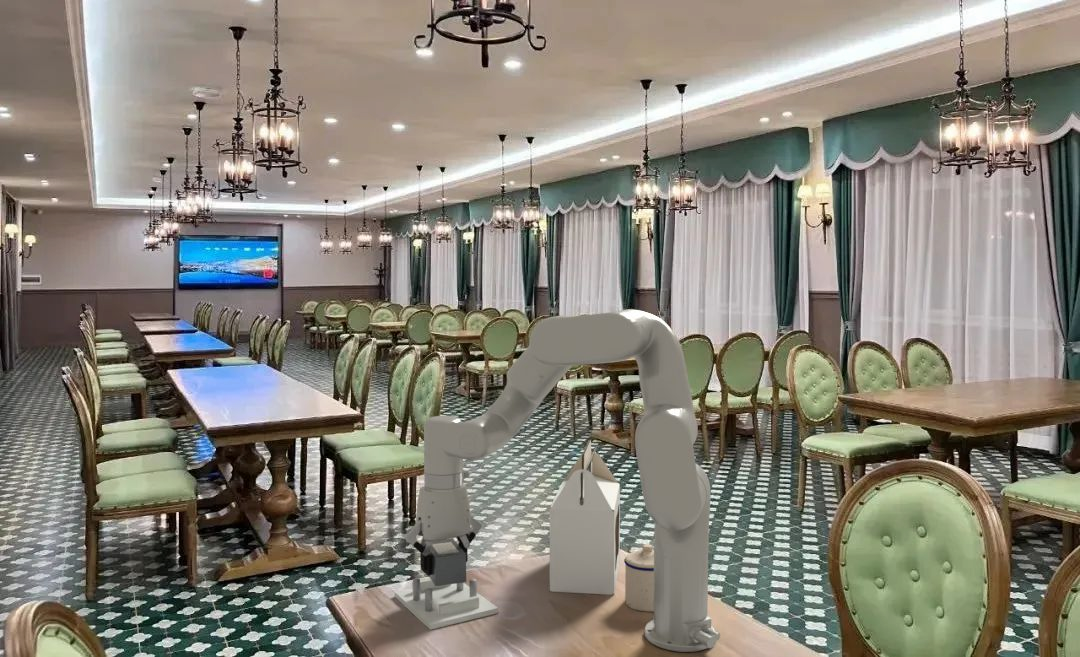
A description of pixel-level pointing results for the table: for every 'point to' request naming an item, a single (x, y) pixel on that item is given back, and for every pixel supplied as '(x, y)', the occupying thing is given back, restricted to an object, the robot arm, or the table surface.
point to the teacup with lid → (640, 579)
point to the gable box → (585, 529)
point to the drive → (447, 563)
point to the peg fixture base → (444, 602)
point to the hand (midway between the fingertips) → (444, 569)
